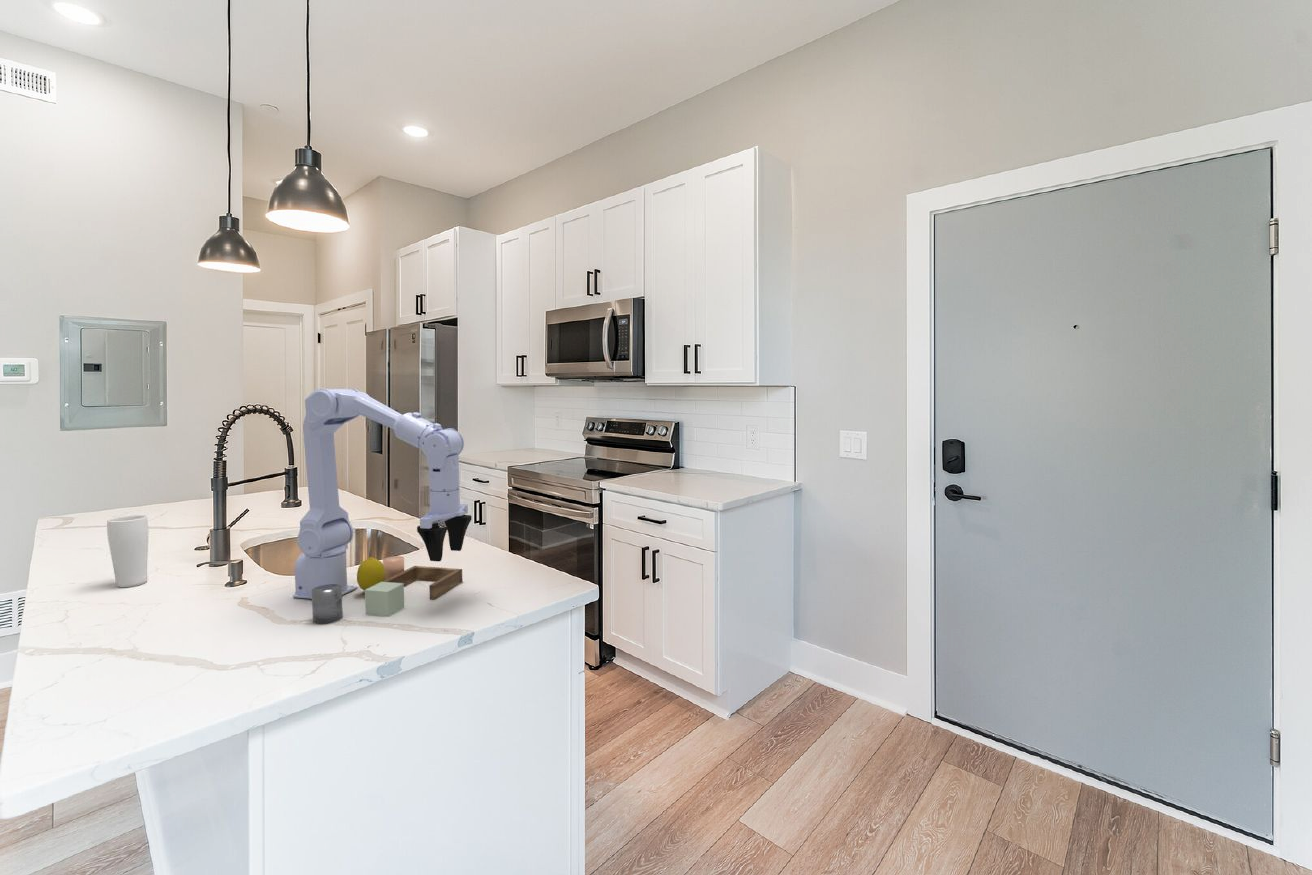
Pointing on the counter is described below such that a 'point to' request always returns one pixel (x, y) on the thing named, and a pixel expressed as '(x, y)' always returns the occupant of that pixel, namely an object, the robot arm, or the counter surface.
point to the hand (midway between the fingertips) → (446, 555)
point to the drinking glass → (129, 549)
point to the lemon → (370, 573)
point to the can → (327, 604)
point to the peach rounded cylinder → (393, 566)
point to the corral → (430, 578)
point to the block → (384, 599)
